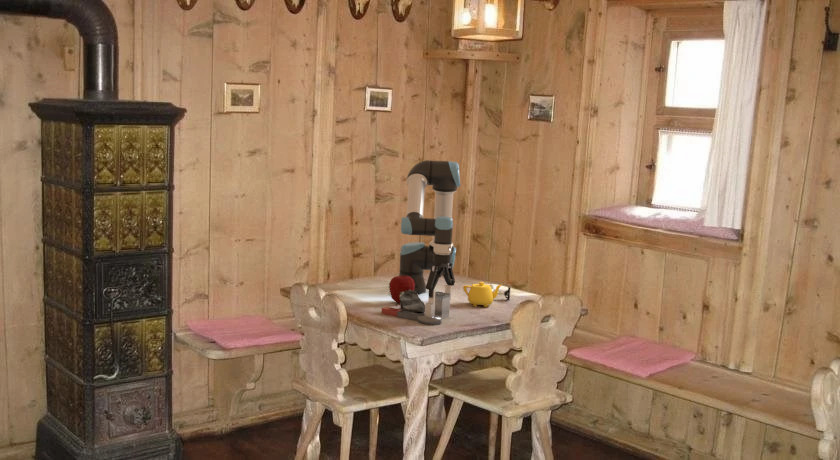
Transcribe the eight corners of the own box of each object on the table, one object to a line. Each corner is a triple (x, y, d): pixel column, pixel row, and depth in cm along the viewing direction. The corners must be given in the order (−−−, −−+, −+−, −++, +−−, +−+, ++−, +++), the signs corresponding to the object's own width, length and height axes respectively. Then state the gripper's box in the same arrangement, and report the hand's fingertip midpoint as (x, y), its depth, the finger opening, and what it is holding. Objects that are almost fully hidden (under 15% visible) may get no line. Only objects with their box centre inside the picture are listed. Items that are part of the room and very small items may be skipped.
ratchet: (377, 314, 360) (378, 296, 358) (390, 310, 368) (391, 292, 367) (433, 326, 345) (434, 307, 344) (445, 322, 353) (446, 303, 352)
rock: (400, 307, 377) (398, 286, 373) (425, 304, 377) (423, 284, 373) (401, 321, 363) (399, 300, 360) (427, 319, 363) (425, 298, 360)
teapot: (500, 303, 393) (502, 281, 392) (501, 309, 382) (503, 285, 381) (462, 301, 394) (463, 278, 392) (462, 306, 383) (463, 283, 381)
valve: (483, 300, 399) (509, 302, 398) (484, 286, 399) (510, 288, 397) (484, 297, 406) (509, 299, 404) (485, 283, 405) (510, 285, 403)
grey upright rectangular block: (428, 316, 361) (429, 293, 360) (436, 314, 366) (437, 291, 365) (441, 319, 358) (442, 296, 356) (449, 316, 363) (450, 293, 362)
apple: (402, 299, 392) (403, 270, 390) (419, 303, 384) (421, 275, 382) (382, 302, 384) (384, 273, 382) (400, 307, 376) (401, 277, 374)
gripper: (434, 257, 346) (431, 308, 348) (464, 251, 367) (461, 299, 369) (419, 255, 350) (416, 305, 352) (449, 249, 371) (446, 296, 373)
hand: (439, 302), depth 361 cm, fingers open, 13 cm apart
